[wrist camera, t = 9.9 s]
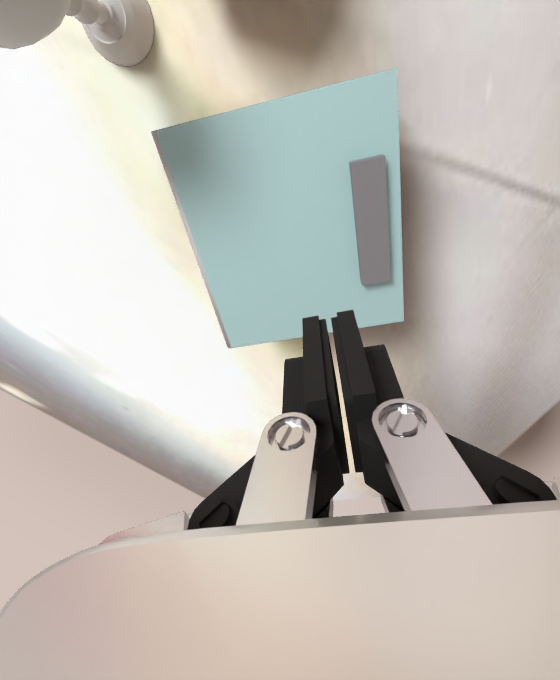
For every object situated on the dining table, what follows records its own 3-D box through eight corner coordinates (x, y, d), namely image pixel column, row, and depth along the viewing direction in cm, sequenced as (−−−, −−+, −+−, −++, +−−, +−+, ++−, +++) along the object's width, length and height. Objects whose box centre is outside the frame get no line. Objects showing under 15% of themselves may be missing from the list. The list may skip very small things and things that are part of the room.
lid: (394, 68, 20) (401, 66, 18) (401, 315, 28) (406, 326, 27) (153, 131, 22) (144, 133, 20) (228, 343, 30) (225, 354, 29)
